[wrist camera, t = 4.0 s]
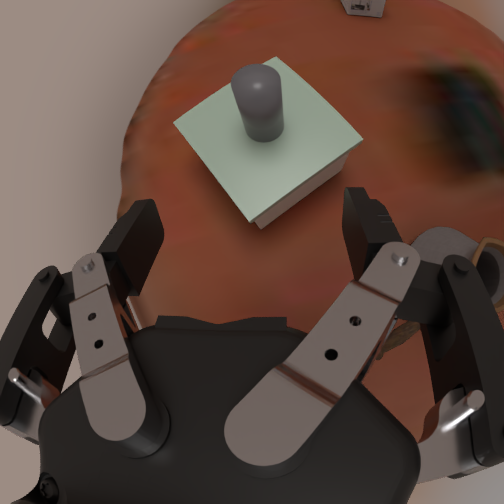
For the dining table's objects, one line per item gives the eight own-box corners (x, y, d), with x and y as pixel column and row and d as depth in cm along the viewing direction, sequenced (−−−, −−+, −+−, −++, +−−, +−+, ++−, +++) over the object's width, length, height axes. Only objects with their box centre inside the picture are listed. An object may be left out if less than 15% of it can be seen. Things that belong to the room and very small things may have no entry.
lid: (358, 148, 26) (383, 98, 17) (252, 226, 27) (233, 201, 18) (277, 68, 28) (270, 10, 19) (180, 131, 29) (143, 85, 19)
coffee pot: (450, 217, 31) (524, 187, 16) (476, 299, 29) (553, 307, 14) (302, 283, 33) (313, 290, 18) (335, 372, 31) (364, 436, 16)
